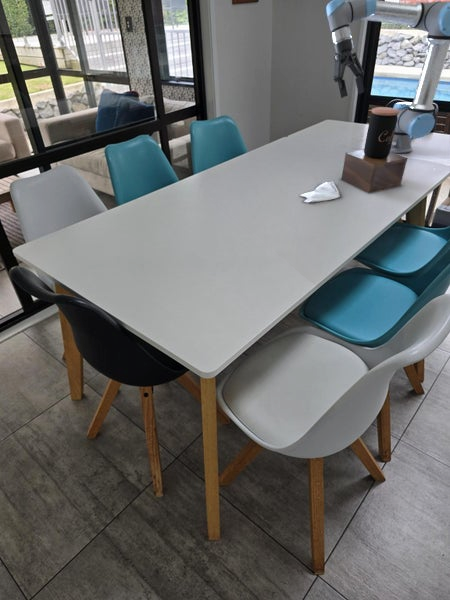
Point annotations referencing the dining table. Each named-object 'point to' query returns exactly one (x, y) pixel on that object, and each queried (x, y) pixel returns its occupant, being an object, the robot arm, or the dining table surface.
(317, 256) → the dining table surface
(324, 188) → the cloth
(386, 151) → the coffee jar
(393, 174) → the dark wooden box
